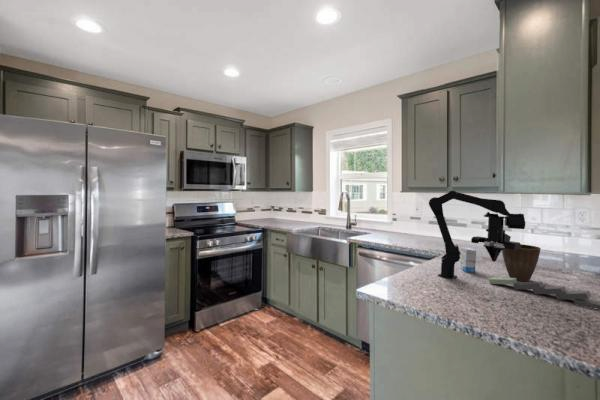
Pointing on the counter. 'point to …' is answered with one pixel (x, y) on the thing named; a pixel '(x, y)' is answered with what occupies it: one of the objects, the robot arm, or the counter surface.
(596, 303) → the domino end
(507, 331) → the counter surface
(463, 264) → the ink box
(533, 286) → the domino
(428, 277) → the counter surface
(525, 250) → the plant pot
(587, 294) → the domino
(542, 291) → the domino
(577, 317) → the counter surface
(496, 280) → the sage domino
